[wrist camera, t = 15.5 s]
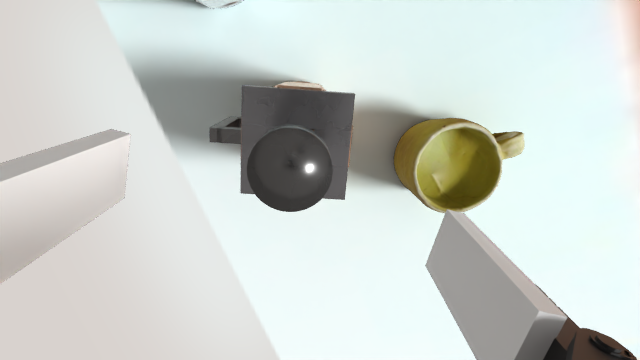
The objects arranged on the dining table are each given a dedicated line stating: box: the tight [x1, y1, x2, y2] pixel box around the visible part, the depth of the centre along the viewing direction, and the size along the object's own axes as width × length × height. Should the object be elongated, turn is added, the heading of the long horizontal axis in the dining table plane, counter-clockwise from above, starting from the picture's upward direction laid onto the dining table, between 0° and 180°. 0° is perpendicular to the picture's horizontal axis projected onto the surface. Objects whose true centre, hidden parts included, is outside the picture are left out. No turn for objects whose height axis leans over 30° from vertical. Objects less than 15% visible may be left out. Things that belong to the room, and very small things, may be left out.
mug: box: [394, 118, 524, 213], centre depth 39 cm, size 12×10×10 cm
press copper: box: [210, 81, 355, 200], centre depth 35 cm, size 12×9×13 cm
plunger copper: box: [247, 124, 333, 212], centre depth 30 cm, size 6×6×18 cm
